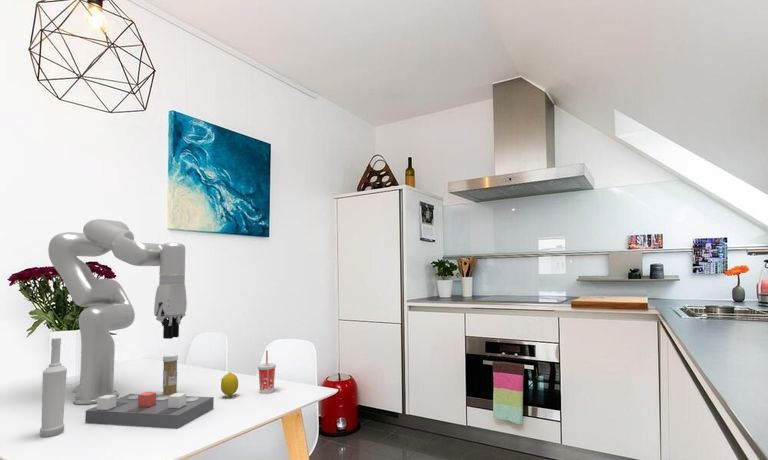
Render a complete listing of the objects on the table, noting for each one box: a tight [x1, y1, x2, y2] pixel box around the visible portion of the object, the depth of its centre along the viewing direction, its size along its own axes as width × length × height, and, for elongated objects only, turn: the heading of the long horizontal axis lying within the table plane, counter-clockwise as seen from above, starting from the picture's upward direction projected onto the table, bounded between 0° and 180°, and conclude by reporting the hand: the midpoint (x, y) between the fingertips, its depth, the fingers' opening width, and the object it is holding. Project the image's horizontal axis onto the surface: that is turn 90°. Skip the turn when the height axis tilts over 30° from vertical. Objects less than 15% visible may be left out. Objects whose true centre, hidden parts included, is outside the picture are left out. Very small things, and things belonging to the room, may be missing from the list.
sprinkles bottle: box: [162, 353, 179, 395], centre depth 146 cm, size 5×5×14 cm
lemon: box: [220, 372, 239, 398], centre depth 141 cm, size 6×6×8 cm
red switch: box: [138, 391, 157, 407], centre depth 123 cm, size 4×3×3 cm
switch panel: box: [84, 393, 215, 429], centre depth 124 cm, size 30×16×4 cm, turn 78°
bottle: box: [39, 337, 68, 438], centre depth 113 cm, size 5×5×25 cm
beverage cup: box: [257, 350, 277, 395], centre depth 146 cm, size 6×6×14 cm
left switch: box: [96, 395, 117, 410], centre depth 121 cm, size 4×3×3 cm
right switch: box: [168, 392, 187, 408], centre depth 121 cm, size 4×3×3 cm
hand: (171, 337), depth 136 cm, fingers closed
